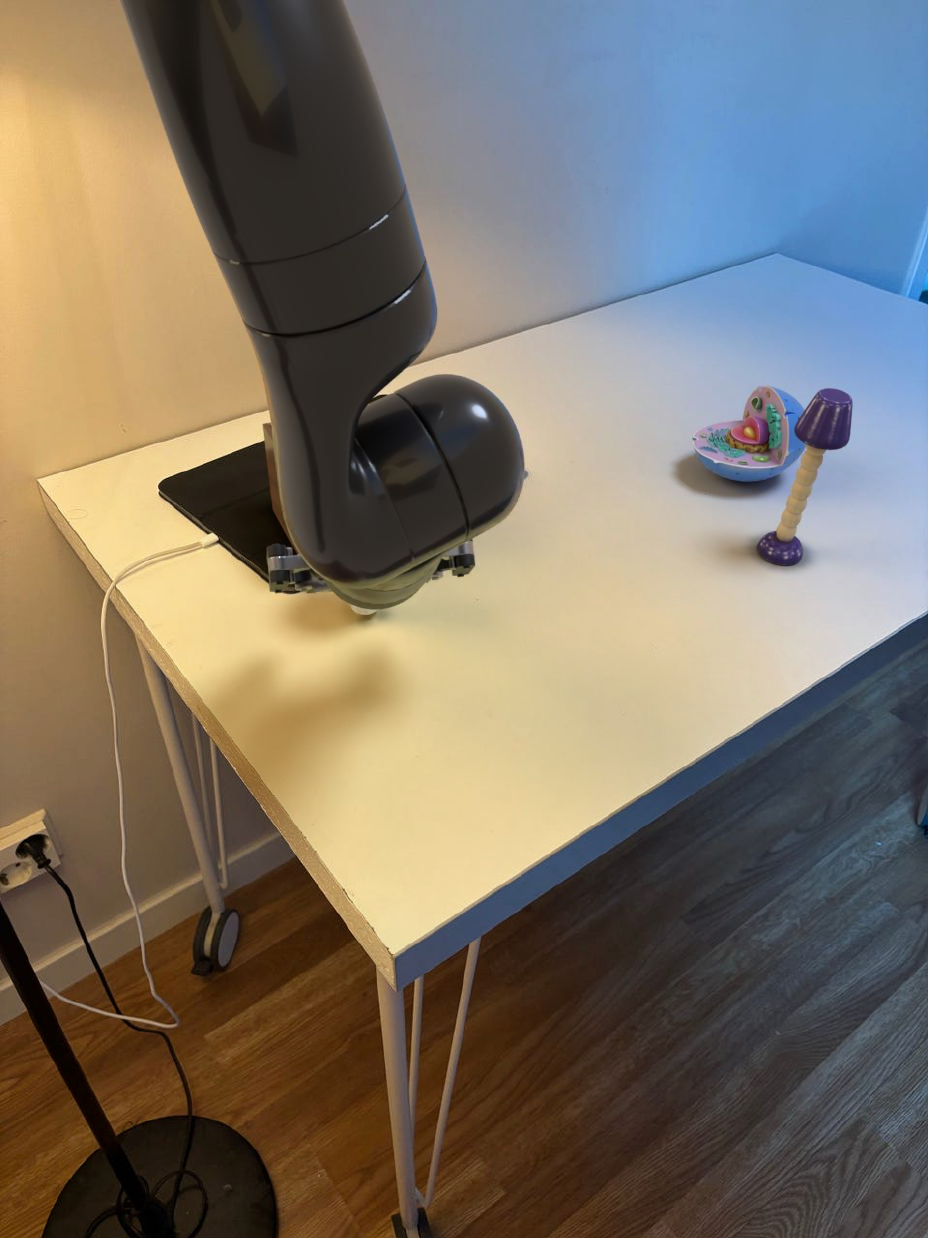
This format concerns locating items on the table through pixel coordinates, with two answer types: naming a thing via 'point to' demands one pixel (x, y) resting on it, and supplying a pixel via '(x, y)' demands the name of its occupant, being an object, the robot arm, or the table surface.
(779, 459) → the cell model
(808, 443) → the toy lamp
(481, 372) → the table surface
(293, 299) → the robot arm
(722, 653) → the table surface
